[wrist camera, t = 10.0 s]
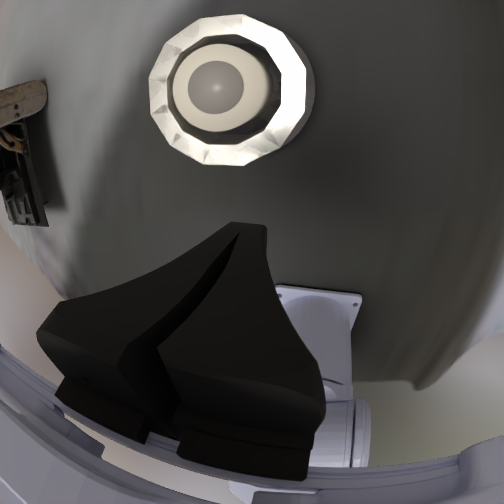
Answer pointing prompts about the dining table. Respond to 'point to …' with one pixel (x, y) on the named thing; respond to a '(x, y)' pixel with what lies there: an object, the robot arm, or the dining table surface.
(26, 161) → the vintage camera
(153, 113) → the lens barrel
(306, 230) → the dining table surface
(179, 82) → the beige short cylinder
